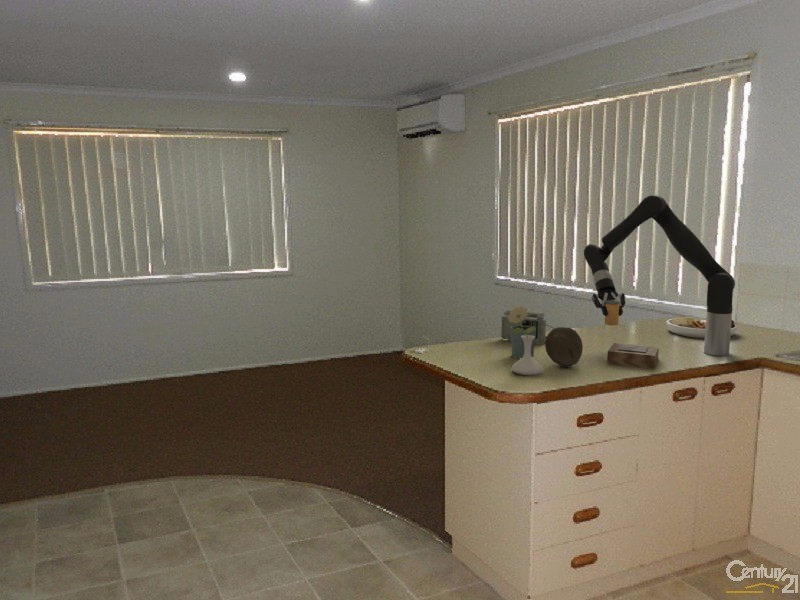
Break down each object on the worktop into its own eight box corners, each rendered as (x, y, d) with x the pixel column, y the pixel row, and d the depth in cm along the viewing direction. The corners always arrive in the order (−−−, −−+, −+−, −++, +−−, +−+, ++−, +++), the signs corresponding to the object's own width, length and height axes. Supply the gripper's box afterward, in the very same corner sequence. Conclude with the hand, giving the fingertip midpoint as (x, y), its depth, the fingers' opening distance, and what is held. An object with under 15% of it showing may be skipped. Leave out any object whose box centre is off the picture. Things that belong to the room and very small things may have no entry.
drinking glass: (516, 360, 248) (517, 330, 246) (505, 354, 257) (506, 325, 256) (539, 358, 250) (540, 329, 249) (527, 352, 260) (528, 324, 258)
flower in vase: (538, 369, 234) (540, 303, 230) (546, 377, 223) (549, 308, 219) (503, 369, 234) (505, 303, 230) (510, 378, 222) (511, 308, 219)
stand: (658, 359, 249) (658, 346, 248) (654, 368, 234) (655, 354, 234) (613, 354, 256) (613, 341, 255) (607, 363, 242) (607, 350, 241)
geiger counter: (500, 310, 282) (556, 314, 270) (504, 308, 287) (559, 312, 276) (499, 340, 284) (554, 346, 272) (504, 337, 289) (558, 343, 278)
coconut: (586, 364, 241) (587, 326, 239) (576, 372, 229) (578, 332, 227) (550, 359, 248) (551, 322, 246) (538, 367, 236) (540, 328, 234)
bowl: (669, 338, 289) (670, 321, 288) (663, 326, 318) (664, 310, 316) (742, 342, 280) (743, 325, 279) (728, 329, 309) (730, 313, 308)
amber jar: (619, 323, 264) (620, 299, 263) (617, 325, 259) (618, 301, 257) (605, 322, 267) (606, 299, 265) (603, 324, 261) (604, 301, 260)
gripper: (589, 277, 267) (599, 310, 257) (623, 277, 268) (633, 309, 258) (585, 288, 273) (594, 320, 263) (617, 287, 274) (627, 319, 264)
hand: (613, 314), depth 260 cm, fingers closed on amber jar, 5 cm apart
